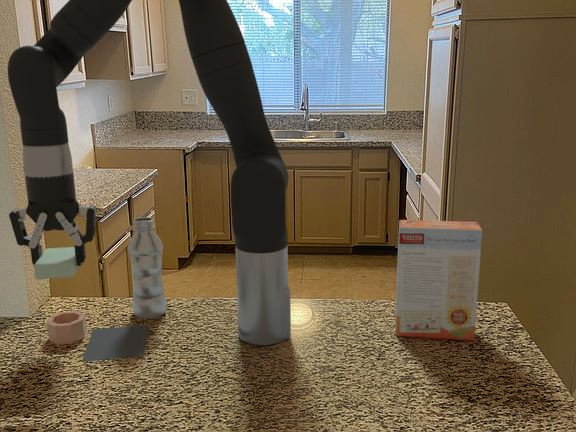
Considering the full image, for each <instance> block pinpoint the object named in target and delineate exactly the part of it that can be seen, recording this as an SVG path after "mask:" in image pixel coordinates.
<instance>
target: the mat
mask: <svg viewBox="0 0 576 432" xmlns="http://www.w3.org/2000/svg"><path fill="white" fill-rule="evenodd" d="M148 329H149V324H141V325H130V326H129V325H128V326H118V327H105V328H93V329H92V331H91V334H90V337H89V340H88V342H87V346H86V348H85V351H84V353H83V357H82V358H81V359H82V360H81V363H84V362H95V361H105V360H117V359H127V358H138V357H140V358H141V357H145V353H146V351H145V350H146V346H147V345H146V344H147V337H148V331H149V330H148Z"/></svg>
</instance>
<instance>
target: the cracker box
mask: <svg viewBox="0 0 576 432" xmlns="http://www.w3.org/2000/svg"><path fill="white" fill-rule="evenodd" d="M482 239H483V229H482V228H481V226H480V225H479V223H478V221H455V220H454V221H451V220H420V219H418V220H417V219H415V220H414V219H400V220H399V221H398V240H397V241H398V242H397V243H398V244H397V245H398V247H397V265H396V266H397V267H396V268H397V269H396V292H395V293H396V294H395V295H396V299H395V337H396V336H397V337H407V338H408V337H409V338H410V337H411V338H412V337H413V338H425V339H443V340H457V341H458V340H459V341H470V342H471V341H475V335H476V334H475V333H476V324H477V323H476V321H477V310H478V309H477V307H478V296H479V295H478V294H479V283H480V281H479V279H480V267H481V266H480V265H481V254H482V253H481V252H482Z"/></svg>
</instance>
